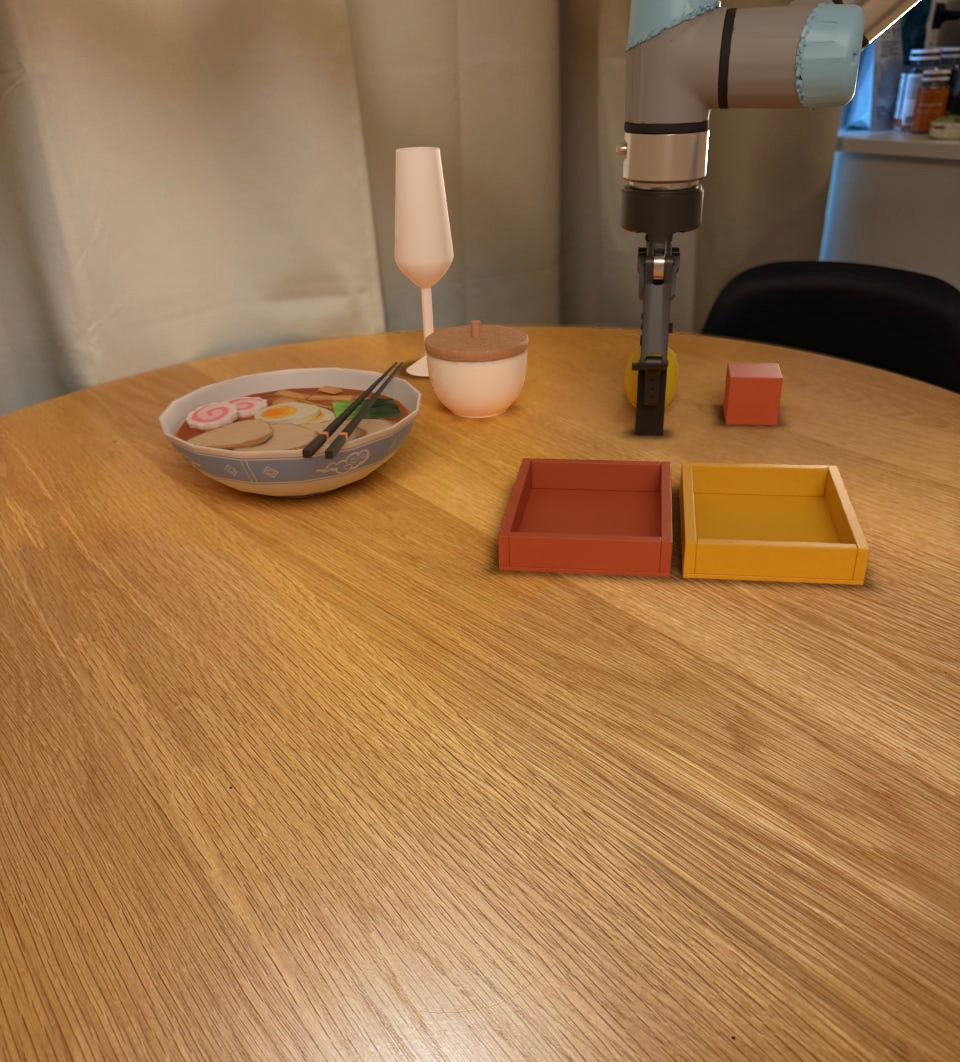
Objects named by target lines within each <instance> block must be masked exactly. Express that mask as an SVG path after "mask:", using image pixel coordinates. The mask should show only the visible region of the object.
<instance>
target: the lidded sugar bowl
mask: <svg viewBox="0 0 960 1062" xmlns="http://www.w3.org/2000/svg"><path fill="white" fill-rule="evenodd" d="M424 343H425V346H424V352H425V351H426V356H427V367H428V373H429V376H428V378H429V382H430V385H431V388H432V390H433V392H434V395H435V396H436V398H437V399H438V400H439V401H440V402H441V404H442V406H444V407H445V408H447V409H448V410H449V411H450V412H451V413H452V414H453V415H455V416H458V417H462V418H468V419H469V418H470V419H481V418H483V419H484V418H491V417H495V416H499V415H501V414H503V413H505V412H507V410H508V408H510V407H511V406H512V405H513V404H514V403H515V402H516V400H517V399H518V398H519V396H520V394H521V393H522V390H523V388H524V385H525V382H526V378H527V371H528V357H529V356H528V348H529V344H530V343H529V335H528V334H527V333H526V332H525V331H523V330H522V329H519V328H516V327H512V326H507V325H499V324H482V321H481V320H479V319H473V320H471V321H470V324H464V325H457V326H451V327H447V328H443V329H439V330H437V331H434V333H432V334H430V335H429V336H427V337H426V339H425V341H424V340H423V344H424Z"/></svg>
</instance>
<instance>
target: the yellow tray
mask: <svg viewBox="0 0 960 1062" xmlns="http://www.w3.org/2000/svg"><path fill="white" fill-rule="evenodd" d="M680 467H681V468H680V478H679V479H680V480H679V516H680V517H679V518H680V541H681V542H680V543H681V569H682V578H685V579H686V578H687V579H708V580H709V579H710V580H731V581H732V580H735V581H759V582H780V583H781V582H785V583H805V584H806V583H807V584H831V585H832V584H833V585H857V586H864V583H865V579H866V572H867V567H868V562H869V556H870V550H871V548H870V546H869V543H868V541H867V539H866V536H865V533H864V531H863V528H862V526H861V524H860V523H861V522H860V521H859V518H858V515H857V513H856V511H855V508H854V506H853V502H852V500H851V497H850V496H849V493H848V490H847V488H846V486H845V482H844V480H843V477H842V475H841V472H840V470H839V467H838V466H837V465H830V464H829V465H828V464H827V465H825V464H824V465H822V464H820V465H819V464H786V463H785V464H782V463H743V462H741V463H740V462H699V461H692V462H691V461H682V462H681V466H680Z"/></svg>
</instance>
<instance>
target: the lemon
mask: <svg viewBox="0 0 960 1062" xmlns="http://www.w3.org/2000/svg"><path fill="white" fill-rule="evenodd" d="M646 356H661V355H660V354H648V355H646ZM640 357H641V346H640V345H639V346H637V347H636V348H635V349H634V350H633V351H632V353H631V354H630V356H629V358H628V360H627V363H626V366H625V370H624V376H623V382H624V383H623V384H624V385H623V386H624V387H623V388H624V391H625V395H626V398H627V400H628V402H629V403H630V405H632V407H634V408H635V409H636V403H637V383H638V371H632V362H639V360H640ZM667 359H668V360H669V363H668V367H667V379H666V395H665V409H666V408H668V407H669V406H670V405H671V404H672V403H673V401H674V399H675V398H676V396H677V394H678V391H679V388H680V379H681V375H680V365H679V361H678V357H677V355H676V353H675V351H673V349H672V348H671V347H669V346H668V353H667Z"/></svg>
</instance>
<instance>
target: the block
mask: <svg viewBox="0 0 960 1062" xmlns="http://www.w3.org/2000/svg"><path fill="white" fill-rule="evenodd" d="M783 380H784V378H783V374H782V372H781V369H780V366H779V363H777V362H727V363H726V374H725V385H724V395H723V405H722V410H723V417H724V422H725V425H751V426H752V425H758V426H759V425H760V426H766V425H767V426H778V421H779V413H780V406H781V405H780V404H781V397H782V391H783V390H782V389H783V382H784V381H783Z"/></svg>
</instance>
